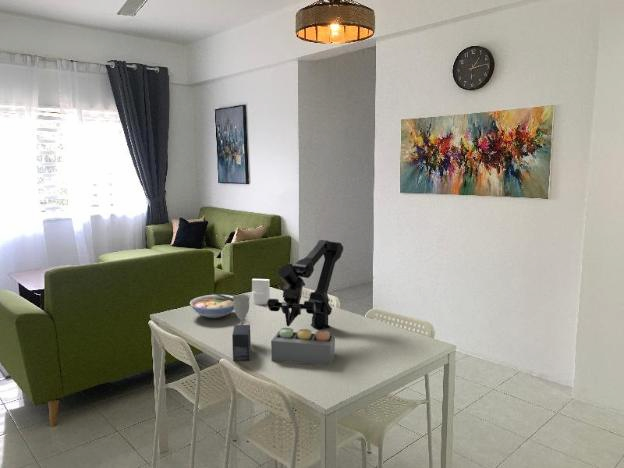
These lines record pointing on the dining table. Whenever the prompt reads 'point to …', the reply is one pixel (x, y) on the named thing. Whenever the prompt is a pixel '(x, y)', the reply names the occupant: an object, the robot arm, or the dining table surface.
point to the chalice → (241, 306)
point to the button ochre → (304, 334)
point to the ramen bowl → (213, 305)
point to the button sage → (286, 333)
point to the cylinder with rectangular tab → (260, 291)
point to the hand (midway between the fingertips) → (287, 325)
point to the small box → (241, 343)
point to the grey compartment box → (303, 350)
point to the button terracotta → (323, 336)
